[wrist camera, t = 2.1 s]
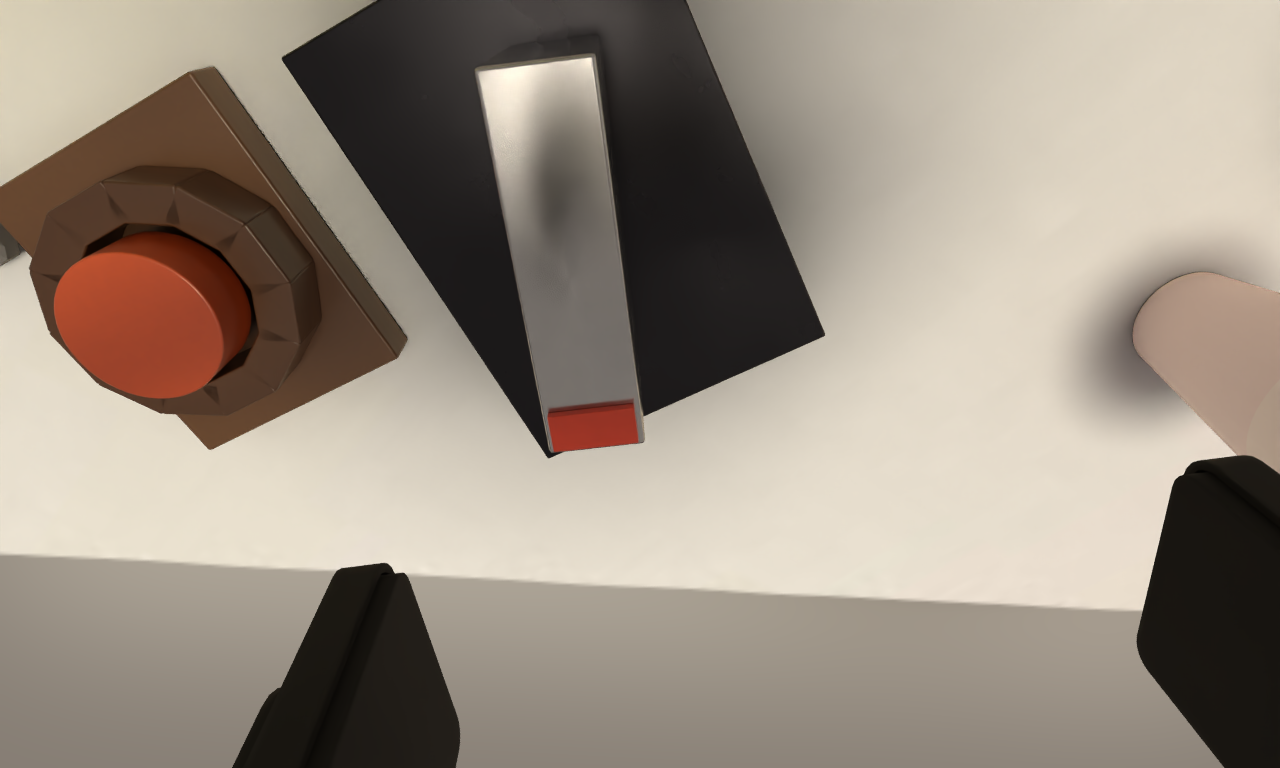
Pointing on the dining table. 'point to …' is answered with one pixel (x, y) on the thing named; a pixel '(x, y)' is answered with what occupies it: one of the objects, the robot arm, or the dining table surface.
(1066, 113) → the dining table surface
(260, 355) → the button block
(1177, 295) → the smoothie
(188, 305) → the button
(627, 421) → the silver metal block
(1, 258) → the key chain
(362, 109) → the plate
